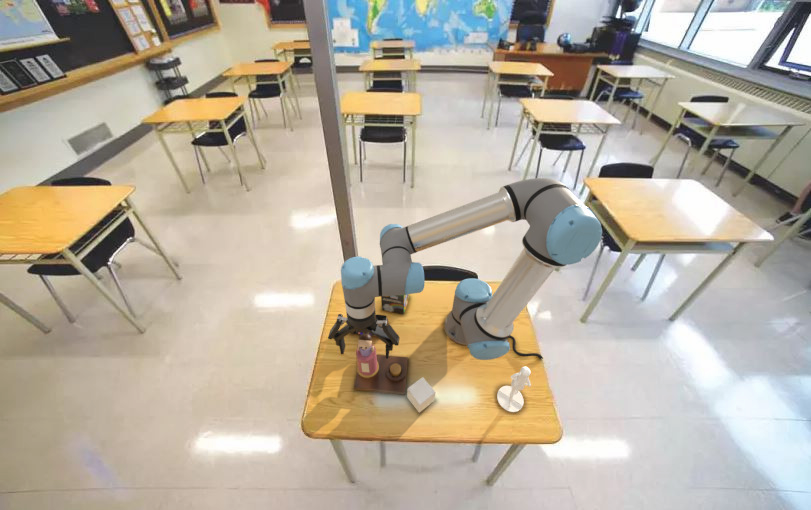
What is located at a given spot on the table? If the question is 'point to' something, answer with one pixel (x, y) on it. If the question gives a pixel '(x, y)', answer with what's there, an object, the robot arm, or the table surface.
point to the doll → (366, 356)
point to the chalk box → (395, 303)
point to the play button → (395, 369)
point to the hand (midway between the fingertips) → (365, 352)
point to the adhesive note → (421, 394)
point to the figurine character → (378, 317)
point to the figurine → (514, 391)
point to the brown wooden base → (385, 377)
